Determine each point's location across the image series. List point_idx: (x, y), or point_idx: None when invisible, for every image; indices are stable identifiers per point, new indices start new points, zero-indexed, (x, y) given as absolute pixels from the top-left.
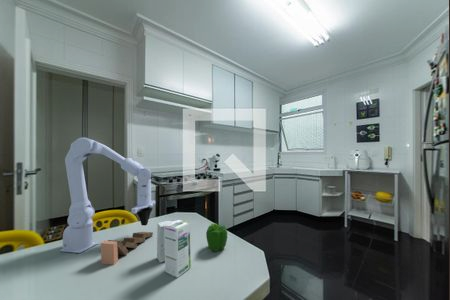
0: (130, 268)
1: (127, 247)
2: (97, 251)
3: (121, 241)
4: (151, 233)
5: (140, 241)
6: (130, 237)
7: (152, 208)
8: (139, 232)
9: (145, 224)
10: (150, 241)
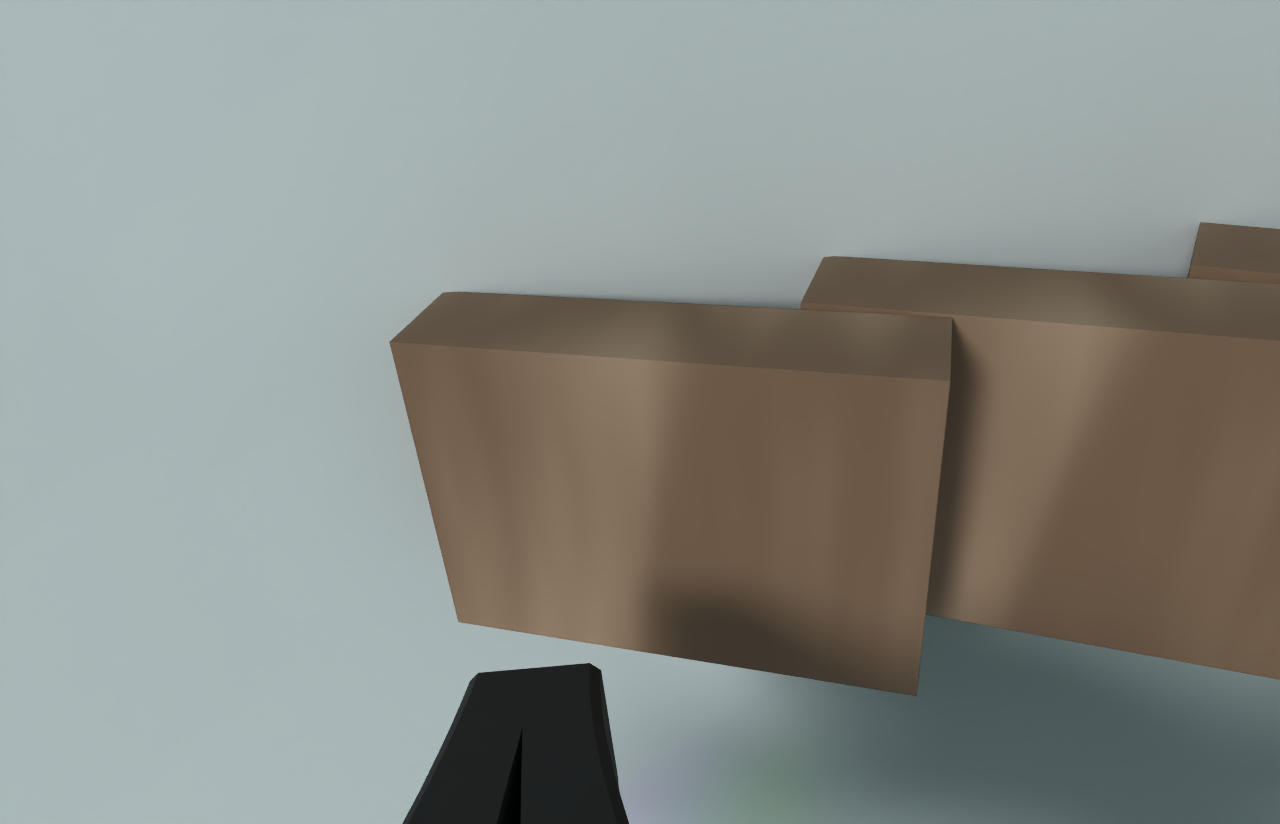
0: None
1: None
2: (1267, 793)
3: None
4: (471, 333)
5: (1046, 280)
6: (1090, 601)
7: None
8: (680, 623)
9: (597, 693)
10: (771, 97)
